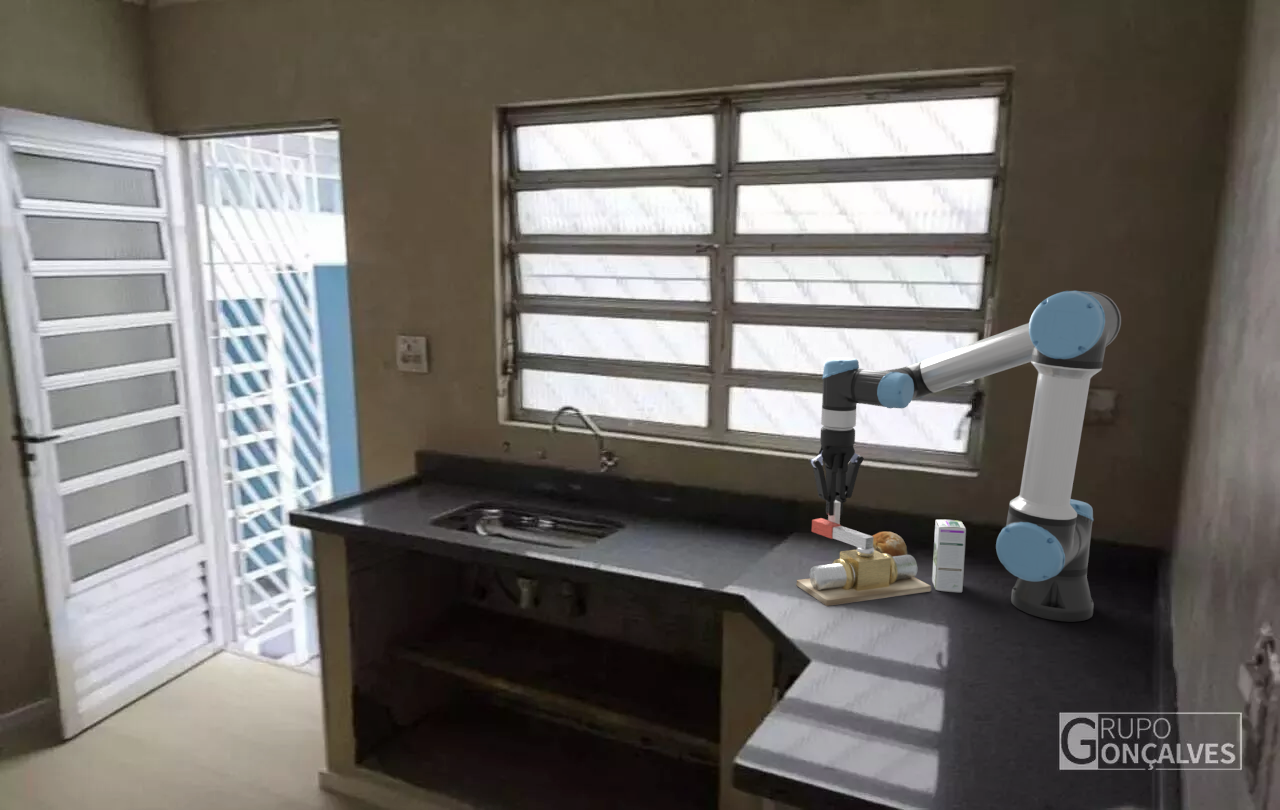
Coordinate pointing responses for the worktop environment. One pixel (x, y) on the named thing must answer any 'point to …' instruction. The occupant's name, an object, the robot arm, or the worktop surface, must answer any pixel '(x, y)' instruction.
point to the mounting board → (864, 591)
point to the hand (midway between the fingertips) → (833, 528)
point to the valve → (863, 571)
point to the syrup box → (949, 555)
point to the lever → (844, 536)
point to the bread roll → (889, 544)
